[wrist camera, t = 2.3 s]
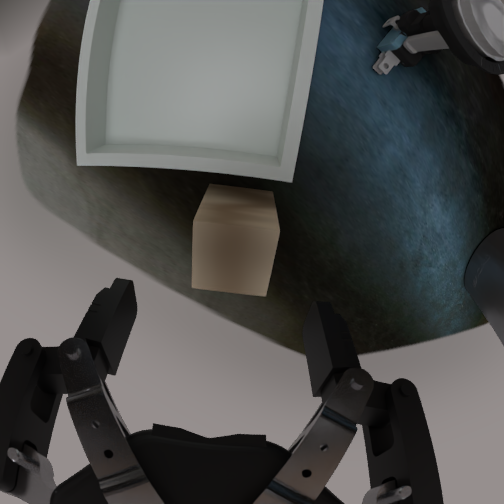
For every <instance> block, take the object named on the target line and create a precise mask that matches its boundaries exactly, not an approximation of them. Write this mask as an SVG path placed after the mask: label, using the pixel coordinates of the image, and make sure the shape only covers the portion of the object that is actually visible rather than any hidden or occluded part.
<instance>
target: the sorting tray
mask: <svg viewBox="0 0 504 504" xmlns="http://www.w3.org/2000/svg"><path fill="white" fill-rule="evenodd" d="M323 1H324V0H90V3H89V7H88V12H87V16H86V21H85V26H84V32H83V38H82V44H81V51H80V59H79V68H78V79H77V95H76V155H77V166H132V167H152V168H169V169H182V170H194V171H205V172H215V173H224V174H233V175H242V176H250V177H257V178H264V179H272V180H278V181H285V182H291V183H292V180H293V175H294V170H295V165H296V160H297V154H298V149H299V144H300V139H301V133H302V128H303V123H304V117H305V112H306V106H307V101H308V95H309V89H310V83H311V78H312V72H313V66H314V60H315V54H316V47H317V41H318V35H319V28H320V22H321V15H322V8H323Z"/></svg>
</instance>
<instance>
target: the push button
mask: <svg viewBox="0 0 504 504" xmlns="http://www.w3.org/2000/svg"><path fill="white" fill-rule="evenodd" d="M389 21H390V22H389ZM388 22H389V23H388ZM389 25H392V26H393V28H392V29H391V30H390V31H389V33H388V34H387V35H386V36H385V37H384V39H383V40H382V41H381V42H380V43H379V45H378V46H377V48H378V49H379V50H380V51H381V54H380V55H379V57H380V58H379V59H378V61H377V62H376V63H375V64H374V66H373V69H374V70H375V71H376V72H377V73H378V74H382V73H383V72H384V73H385V74H388V72H389V71H390V70H391V69H392V67H393V66H394V65H395V66H397V65H398V64H399V63H401V64H402V65H403V66H404V67H413V66H415V65H417V64H418V62H419V61H420V60H421V58H422V57H423V56H424V55H426V54H434V53H438V52H440V51H441V50H442V49H450V50H451V52H452V53H453V54H454V55H455V56H457V57H458V58H459V59H460V60H461V61H463V62H464V63H465V64H468V65H473V66H476V67H478V68H479V69H481V70H483V71H485V72H487V73H490V74H498V75H500V74H504V5H503V3H502V2H501V0H430V3H429V11H427V12H426V11H425V10H424V9H423V8H422V7H421V8H418V9H415V10H413V9H412V10H410V11H408V12H406V13H405V14H403V15H402V16H401V17H399V16H395V17H393V18H390V19H389V20H387V22H386V23H385V24H384V25H383V26H382V27H383V28H384V27H386V26H389ZM482 56H484V57H486V58H483V57H482ZM378 64H379V65H378ZM387 67H388V69H386V68H387Z"/></svg>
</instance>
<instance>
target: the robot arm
mask: <svg viewBox="0 0 504 504" xmlns="http://www.w3.org/2000/svg"><path fill="white" fill-rule="evenodd" d="M464 283H465V288H466V290H467V291H468V293H469V294H470V296H471V297H472V298H473V300H474V301H475V302H476V304H477V305H478V307H479V308H480V309H481V311H482V313H483V314H484V316H485V317H486V319H487V320H488V322H489V323H490V325H491V326H492V328H493V329H494V331H495V332H496V334H497V336H498V337H499V339H500V340H501V342H502V344H503V345H504V228H501V229H498V230H496V231H494V232H493V233H491V234H490V235H489V236H488V237H486V238H485V239H484V241H483V242H482V243H481V244H480V245H479V247H478V248H477V249H476V251H475V252H474V254H473V256H472V258H471V260H470V262H469V264H468V266H467V270H466V273H465V279H464ZM136 315H137V302H136V296H135V290H134V284H133V281H132V280H126V279H120V278H116V279H115V280H114V282H113V284H112V286H111V287H110V289H109V288H104V289H103V290H101V291H100V292H99V293H98V294H97V295H96V297H95V298H94V300H93V302H92V305H90V307H89V309H88V312H87V313H86V315H85V317H84V318H83V320H82V322H81V324H80V326H79V328H78V330H77V332H76V334H75V336H74V337H73V338H69V339H66V340H65V341H63V342H62V343H61V344H60V346H59V347H42V346H41V345H40V343H39V342H38V341H37V340H36V339H33V338H27V339H24V340H22V341H21V342H20V343H19V344H18V345H17V347H16V349H15V351H14V353H13V355H12V357H11V359H10V361H9V364H8V366H7V369H6V371H5V373H4V375H3V378H2V380H1V382H0V491H2V492H5V493H7V494H10V495H12V496H15V497H18V498H20V499H22V500H23V501H25V502H27V503H29V504H344V503H343V502H342V501H341V500H339V499H338V498H337V497H336V496H335V495H334V494H333V493H332V492H331V491H330V490H329V489H327V488H326V487H325V485H326V484H327V482H328V480H329V479H330V477H331V476H332V474H333V473H334V471H335V469H336V468H337V466H338V464H339V463H340V461H341V459H342V457H343V456H344V454H345V452H346V451H347V449H348V447H349V445H350V443H351V442H352V440H353V438H354V436H355V434H356V432H357V427H356V424H361V425H362V426H363V433H364V439H365V446H366V453H367V460H368V468H369V477H370V486H371V489H370V490H369V491H368V492H367V493H366V494H365V496H364V498H363V502H362V504H444V503H443V497H442V490H441V484H440V478H439V473H438V468H437V463H436V458H435V453H434V449H433V445H432V441H431V437H430V433H429V429H428V425H427V421H426V418H425V414H424V411H423V407H422V404H421V401H420V397H419V395H418V392H417V388H416V387H415V385H414V384H413V383H412V382H411V381H409V380H407V379H404V378H400V379H397V380H395V381H394V382H393V383H392V384H387V383H382V382H378V381H374V380H373V378H372V377H371V375H370V374H369V373H368V372H367V371H365V370H364V369H361V366H360V363H359V359H358V356H357V353H356V350H355V347H354V344H353V341H352V338H351V335H350V333H349V329H348V326H347V323H346V321H345V320H344V319H343V318H342V317H341V315H340V314H334V311H333V308H332V305H331V303H330V302H318V301H314V302H313V303H312V305H311V307H310V310H309V313H308V315H307V318H306V320H305V323H304V326H303V341H304V346H305V352H306V358H307V363H308V369H309V375H310V381H311V387H312V393H313V397H322V403H321V405H320V406H319V408H318V409H317V411H316V412H315V414H314V415H313V417H312V418H311V420H310V421H309V423H308V424H307V426H306V427H305V428H304V430H303V431H302V433H301V434H300V435H299V437H298V438H297V439H296V440H295V442H294V443H293V444H292V445H291V447H290V448H289V449H288V450H286V449H285V448H283V447H281V446H279V445H277V444H275V443H271V442H269V441H266V435H249V434H235V435H230V436H223V437H216V438H206V437H203V436H200V435H197V434H195V433H192V432H189V431H186V430H184V429H181V428H176V427H170V426H165V425H159V424H153V428H152V429H150V430H142V431H139V432H136V433H133V434H130V432H129V430H128V428H127V426H126V424H125V423H124V421H123V419H122V417H121V415H120V414H119V411H118V409H117V407H116V405H115V403H114V400H113V398H112V396H111V394H110V391H109V389H108V387H107V384H106V382H105V379H106V376H107V374H111V375H116V372H117V369H118V366H119V363H120V360H121V357H122V354H123V351H124V349H125V346H126V343H127V340H128V337H129V335H130V332H131V329H132V326H133V324H134V321H135V319H136ZM63 394H68V397H67V398H66V402H67V406H68V409H69V411H70V415H71V418H72V420H73V423H74V426H75V429H76V431H77V434H78V437H79V439H80V441H81V444H82V446H83V448H84V451H85V453H86V456H87V458H88V460H89V462H90V464H89V465H87V466H86V467H84V468H83V469H82V470H80V471H79V472H77V473H76V474H74V475H73V476H71V477H70V478H68V479H67V480H65V481H64V482H63V483H61V484H60V485H58V486H56V484H55V482H54V479H53V476H54V473H53V468H52V465H51V463H50V462H49V460H48V459H47V454H48V449H49V444H50V440H51V436H52V431H53V427H54V423H55V419H56V416H57V412H58V409H59V405H60V402H61V398H62V395H63Z"/></svg>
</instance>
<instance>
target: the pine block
mask: <svg viewBox="0 0 504 504" xmlns="http://www.w3.org/2000/svg"><path fill="white" fill-rule="evenodd" d="M279 234H280V228H279V222H278V217H277V211H276V206H275V200H274V195H273V191H265V190H258V189H250V188H242V187H234V186H225V185H216V184H209V186H208V188H207V191H206V193H205V195H204V197H203V200H202V202H201V204H200V206H199V209H198V211H197V213H196V216H195V218H194V220H193V243H192V288H196V289H204V290H212V291H221V292H229V293H238V294H247V295H257V296H266V293H267V289H268V285H269V280H270V276H271V271H272V266H273V262H274V257H275V253H276V248H277V243H278V239H279Z"/></svg>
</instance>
